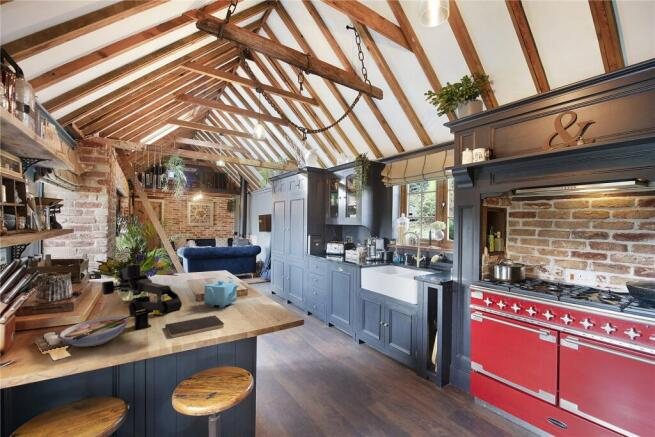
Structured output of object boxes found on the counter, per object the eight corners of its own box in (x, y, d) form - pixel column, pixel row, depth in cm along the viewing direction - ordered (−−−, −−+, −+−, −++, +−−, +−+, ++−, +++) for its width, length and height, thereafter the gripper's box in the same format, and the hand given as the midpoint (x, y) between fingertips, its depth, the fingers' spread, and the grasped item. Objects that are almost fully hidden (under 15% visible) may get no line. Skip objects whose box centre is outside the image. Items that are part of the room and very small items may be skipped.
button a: (61, 345, 118) (61, 339, 118) (49, 348, 115) (50, 342, 115) (59, 343, 120) (59, 337, 120) (48, 345, 117) (48, 339, 117)
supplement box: (171, 312, 164) (171, 292, 165) (164, 316, 158) (164, 295, 159) (161, 312, 165) (161, 292, 165) (153, 315, 159) (153, 295, 159)
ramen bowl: (108, 328, 138) (106, 311, 138) (146, 331, 131) (144, 313, 131) (43, 355, 114) (41, 335, 114) (86, 361, 108) (83, 339, 107)
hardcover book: (224, 328, 143) (224, 323, 143) (171, 339, 129) (171, 334, 129) (214, 319, 155) (214, 314, 155) (165, 328, 142) (165, 323, 142)
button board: (70, 347, 119) (70, 342, 119) (42, 354, 112) (42, 349, 112) (60, 337, 129) (60, 332, 129) (34, 343, 123) (34, 337, 123)
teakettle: (202, 303, 183) (203, 279, 183) (234, 299, 192) (234, 277, 192) (206, 311, 167) (206, 285, 167) (240, 307, 175) (240, 282, 176)
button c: (56, 339, 124) (56, 333, 124) (44, 341, 121) (45, 335, 121) (54, 337, 126) (54, 331, 126) (43, 339, 123) (43, 333, 124)
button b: (58, 342, 121) (58, 336, 121) (47, 344, 118) (47, 338, 118) (56, 340, 123) (56, 334, 123) (45, 342, 120) (45, 336, 120)
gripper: (150, 266, 156) (135, 267, 164) (109, 271, 140) (94, 272, 148) (151, 287, 155) (136, 287, 163) (110, 295, 139) (95, 294, 147)
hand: (116, 284), depth 155 cm, fingers open, 9 cm apart
